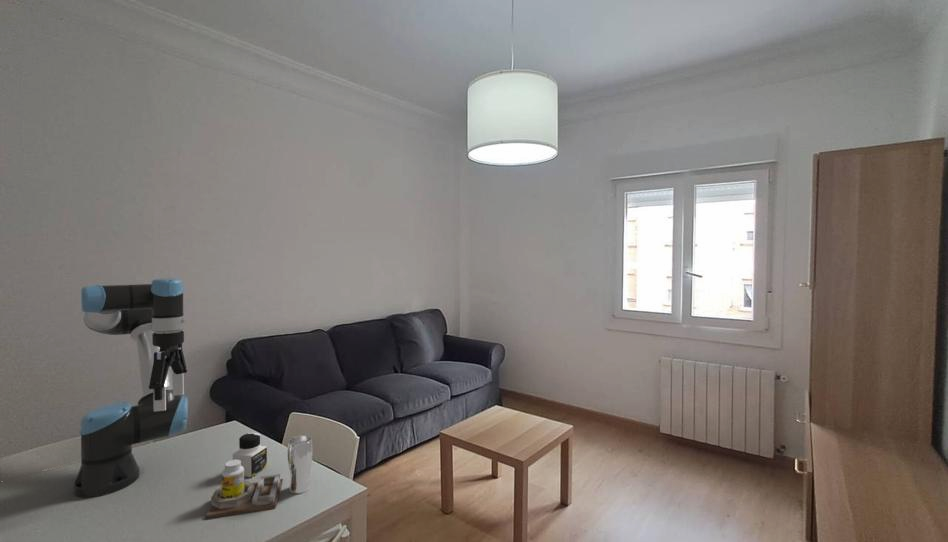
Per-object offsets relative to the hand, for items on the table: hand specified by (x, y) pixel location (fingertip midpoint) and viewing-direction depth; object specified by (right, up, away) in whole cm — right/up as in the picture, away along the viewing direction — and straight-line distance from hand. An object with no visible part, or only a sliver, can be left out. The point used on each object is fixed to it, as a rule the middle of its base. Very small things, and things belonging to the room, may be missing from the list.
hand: (169, 402), depth 123 cm
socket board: (+25, -27, -3) cm, 37 cm away
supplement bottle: (+21, -26, -4) cm, 34 cm away
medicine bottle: (+17, -27, +13) cm, 34 cm away
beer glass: (+37, -27, +3) cm, 46 cm away
